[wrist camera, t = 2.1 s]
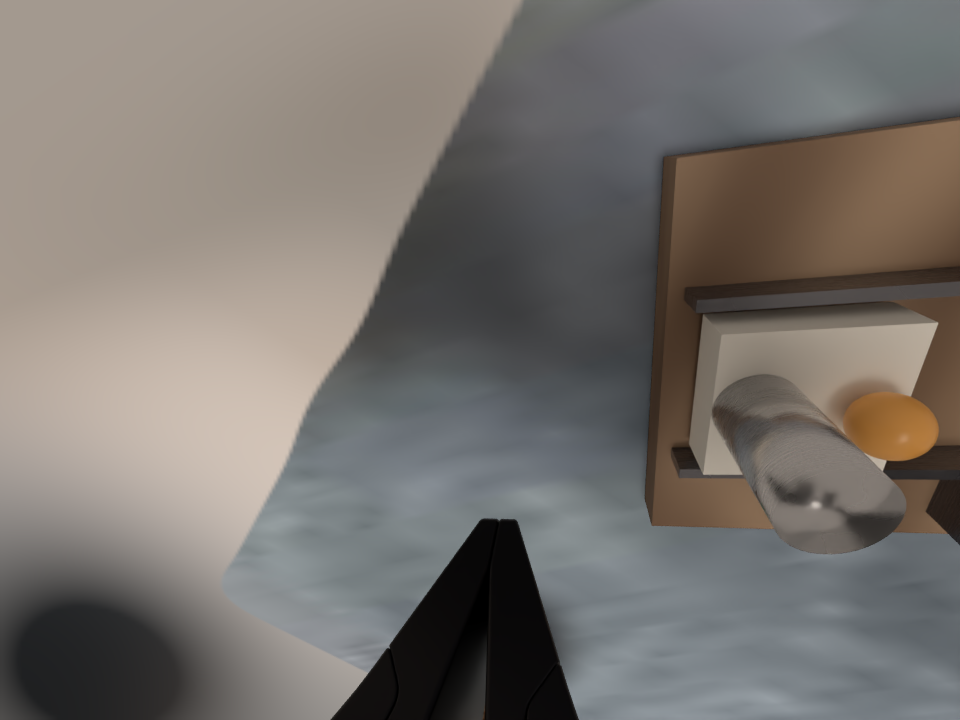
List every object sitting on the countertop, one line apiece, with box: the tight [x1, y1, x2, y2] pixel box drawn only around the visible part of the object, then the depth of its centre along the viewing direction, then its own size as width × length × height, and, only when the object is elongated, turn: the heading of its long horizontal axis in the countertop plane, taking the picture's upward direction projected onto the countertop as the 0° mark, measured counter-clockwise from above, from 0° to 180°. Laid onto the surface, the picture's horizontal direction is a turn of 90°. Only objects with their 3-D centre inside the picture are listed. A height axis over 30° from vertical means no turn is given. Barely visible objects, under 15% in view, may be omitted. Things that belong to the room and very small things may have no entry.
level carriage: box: [689, 302, 939, 554], centre depth 11 cm, size 5×5×6 cm
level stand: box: [645, 117, 960, 545], centre depth 12 cm, size 16×14×4 cm
